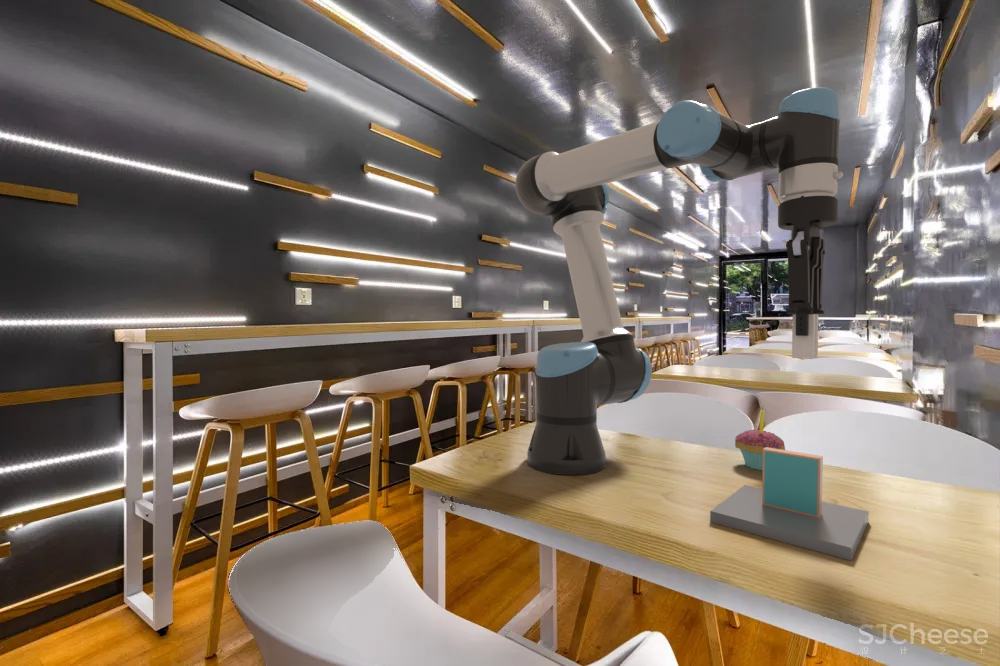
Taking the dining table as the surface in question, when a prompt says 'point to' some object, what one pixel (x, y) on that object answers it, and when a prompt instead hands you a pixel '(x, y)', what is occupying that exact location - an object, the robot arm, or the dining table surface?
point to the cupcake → (757, 444)
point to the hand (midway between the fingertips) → (804, 357)
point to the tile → (792, 481)
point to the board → (794, 523)
